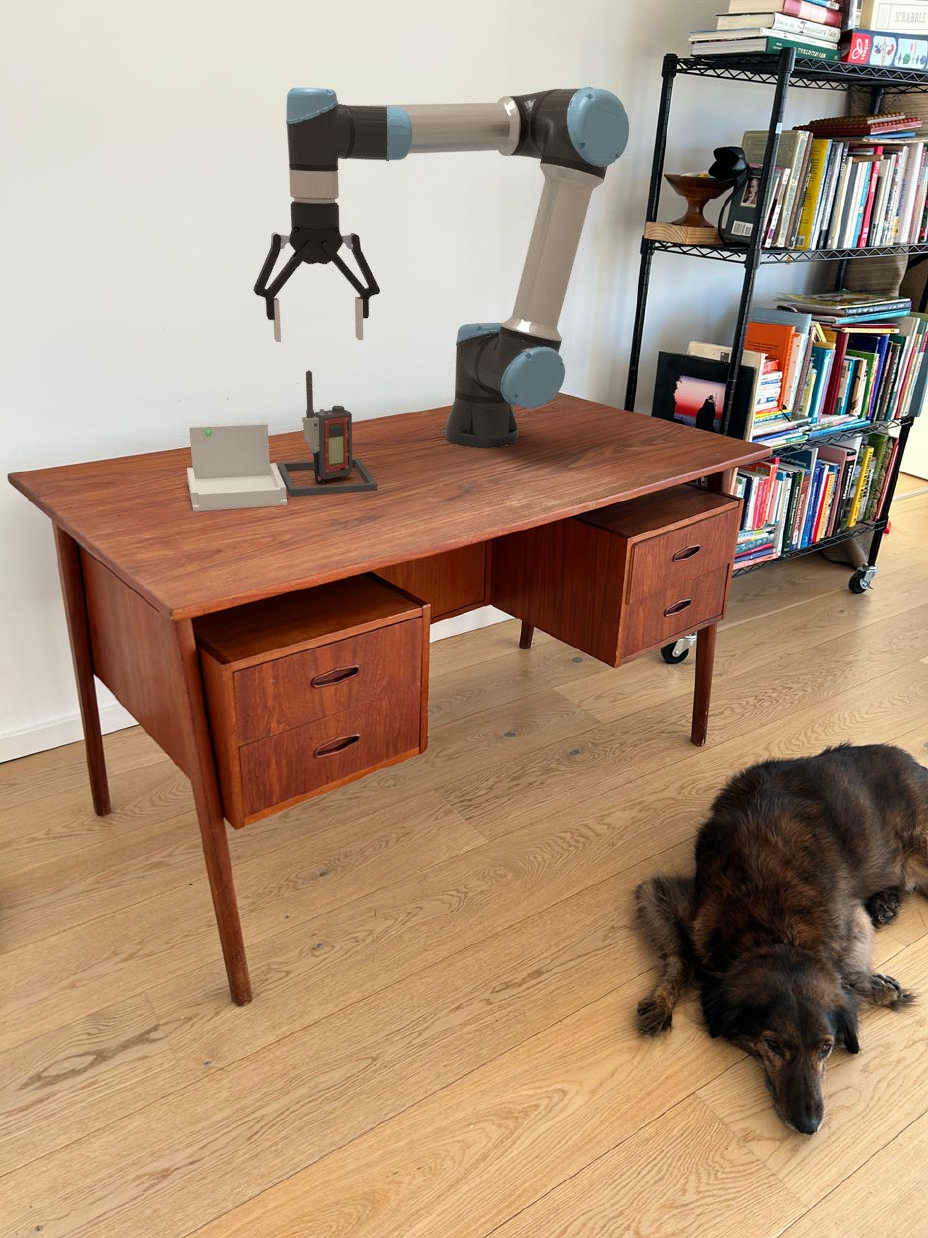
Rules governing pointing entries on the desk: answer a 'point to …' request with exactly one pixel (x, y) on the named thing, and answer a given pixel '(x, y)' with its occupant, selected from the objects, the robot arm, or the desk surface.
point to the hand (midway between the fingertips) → (319, 339)
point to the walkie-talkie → (328, 438)
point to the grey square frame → (328, 489)
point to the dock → (233, 468)
